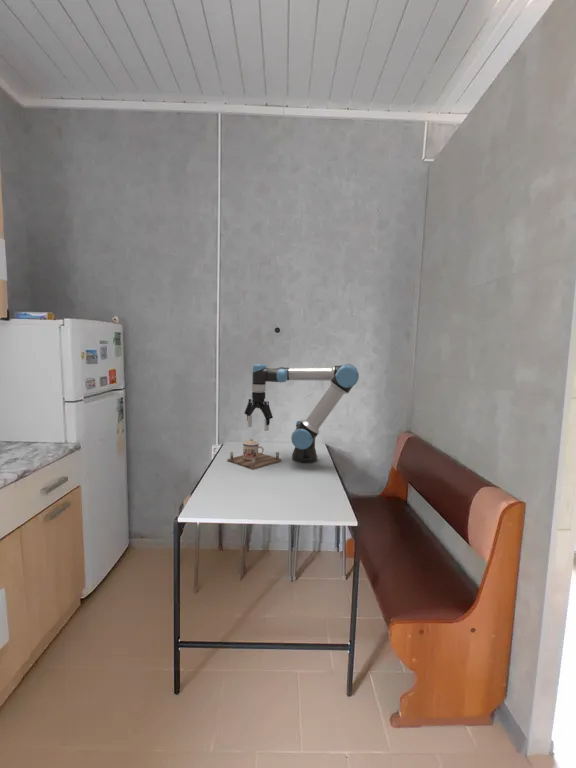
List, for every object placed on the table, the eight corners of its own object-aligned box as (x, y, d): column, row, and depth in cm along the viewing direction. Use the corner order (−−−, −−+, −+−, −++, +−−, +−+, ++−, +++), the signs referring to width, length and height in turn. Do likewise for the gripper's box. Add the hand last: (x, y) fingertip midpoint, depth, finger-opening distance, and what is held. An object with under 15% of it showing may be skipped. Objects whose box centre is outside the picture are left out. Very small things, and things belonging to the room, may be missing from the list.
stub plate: (281, 461, 227) (281, 452, 226) (253, 469, 209) (253, 460, 209) (256, 453, 240) (256, 445, 240) (227, 461, 223) (227, 452, 222)
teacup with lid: (241, 460, 221) (242, 440, 220) (243, 455, 230) (244, 436, 229) (262, 461, 221) (263, 441, 220) (263, 456, 230) (264, 437, 229)
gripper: (279, 393, 215) (278, 431, 217) (248, 389, 231) (247, 424, 233) (270, 394, 209) (269, 433, 211) (238, 390, 225) (238, 426, 227)
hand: (257, 428), depth 222 cm, fingers open, 13 cm apart
